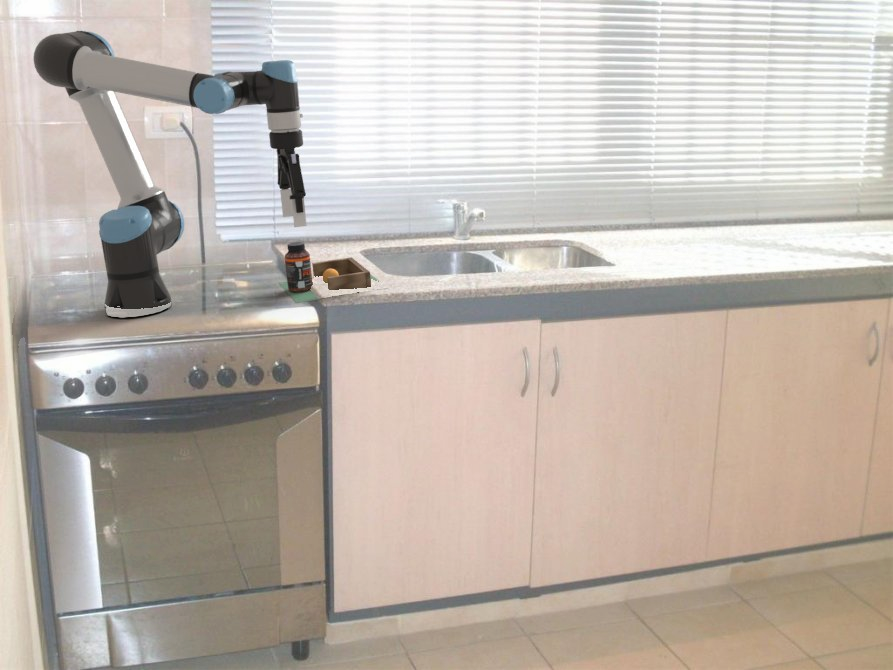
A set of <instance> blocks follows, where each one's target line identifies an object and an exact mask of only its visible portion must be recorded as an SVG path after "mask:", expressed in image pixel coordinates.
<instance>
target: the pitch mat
mask: <svg viewBox="0 0 893 670" xmlns="http://www.w3.org/2000/svg"><path fill="white" fill-rule="evenodd" d="M370 278H371V279H373V280H375V281H377V280H378V282H379V281H380V280H379V279H377V278H376V277H375V276H373V274H371V273H370ZM279 285H280V286H281V287H282V288H283V289H284V291H285V292H286V293H287V294H288V295H289V296H290V298H291V299H292V301H294V302H295V303H296V304H297V303H298V304H299V303H303V302H310V301H311V302H312V301H318V300H319V299H318V298H317V297H316V296H315V295H314V293H313V292H312V291H311V290H309V291H305V292H291V291H289V289H288V283H287V281H283V282H279Z"/></svg>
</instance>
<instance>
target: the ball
mask: <svg viewBox="0 0 893 670" xmlns="http://www.w3.org/2000/svg"><path fill="white" fill-rule="evenodd" d="M332 276H339V274H338V272H337V271H336V270H335V269H327V270H326V271H324V273H323V281H324V282H325V283H328V280H327V277H332Z"/></svg>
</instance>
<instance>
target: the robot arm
mask: <svg viewBox="0 0 893 670" xmlns="http://www.w3.org/2000/svg"><path fill="white" fill-rule="evenodd" d="M33 65H34V68H35V70H36V73H38V75H39V77H40V78H41V79H42V80H43V81H45V82H46V83H47V84H49V85H51V86H54V87H58V88H64V89H65V92H66V93H67V95H68V98H69V99H71V100H72V101H75V102H77V103H78V104H79V106H80V108H81V112H82V113H83V115H84V117H85V121H87V125H88V127H89V129H90V131H91V133H92V136H93V138H94V141H95V142H96V145H97V147H98V149H99V151H100V154H101V156H102V159H103V161H104V163H105V165H106V168H107V170H108V173H109V174H110V177H111V180H112V181H113V184H114V186H115V188H116V190H117V193H118V195H119V198H120V200H119V203H118V205H117V209H116V208H115V209H111V210H109V211H107V212H105V213H104V214H103V215H102V216H100V218H99V220H98V226H99V231H98V232H99V233H98V234H99V237H100V243H101V248H102V253H103V259H104V265H105V269H106V276H107V287H106V293H105V298H104V299H105V300H104V304H106V305H107V306H109V307H114V308H121V309H141V308H143V309H144V308H153V307H158V306H162V305H166V304H168V303H170V302H172V297H171V295H170V292H169V290H168V288H167V286H166V284H165V283H164V280H163V279H162V277H161V274H160V269H159V262H158V256H157V255H159V254H161V253H162V252H163V251H166V250H169V249H171V248H172V247H173V246H175V244H177V242H178V241H180V239H181V238H182V236H183V234H184V231H185V218H184V214H183V212H182V211H181V209H180V207H179V206H178V205H177V204H176V203H174V202H172V201H171V200H169V199H168V197H167V194H166V192H165V190H164V189H163V188H161V187H158V186H157V185H155V183H154V180H153V178H152V175H151V173H150V171H149V168H148V165H147V164H146V161H145V159H144V157H143V155H142V152H141V150H140V147H139V145H138V142H137V140H136V138H135V135H134V133H133V131H132V128H131V126H130V124H129V121H128V119H127V117H126V115H125V112H124V111H123V107H122V106H121V103H120V101H119V99H118V96H117V94H116V93H119V94H125V95H129V96H135V97H139V98H145V99H150V100H155V101H160V102H167V103H171V104H177V105H182V106H185V107H186V106H187V107H193V108H196V109H199V110H200V111H201V112H203V113H205V114H209V115H214V114H215V115H219V114H222V113H223V114H224V113H225V112H226V111H230V110H232V109H236V108H239V107H242V106H254V105H255V106H257V105H261V106H262V105H265V107H266V109H265V110H266V117H267V128H268V130H269V131H270V132H269V133H268V135H269V145H270V148H272V149H273V150H276V154H277V185H278V187H279V189H280V201H281V209H282V217H283V218H289V217H293V226H294V228H300V227H301V228H302V227H307V226H308V225H307V218H306V217H307V216H306V206H305V197H306V190H305V184H304V179H303V173H302V168H301V164H300V162H301V161H300V155H299V153H296V150H295V149H297V148H300V147H303V145H304V139H303V138H304V137H303V131H302V129H300V128H301V127H302V120H301V119H302V118H303V117H304V116H303V113H301V110H300V100H299V99H300V98H299V97H300V96H299V85H298V82H299V81H298V80H299V79H298V77H297V69H296V64H295V63H294V62H293V61H292V60H287V59H284V60H282V59H281V60H280V59H279V60H269V61H264V62H263V63H262V64H261V69H260V70H256V71H253V70H252V71H225V72H217V73H215V74H214V75H212V74H207V73H201V72H197V71H191V70H187V69H181V68H176V67H170V66H165V65H160V64H154V63H149V62H145V61H141V60H134V59H130V58H124V57H119V56H115V53H114V49H113V48H112V46H111V44H110V43H109V42H108V41H107V40H106V39H105V38H104V37H103V36H101V35H100V34H98V33H95V32H94V31H93V32H92V31H86V30H76V31H72V32H71V31H70V32H63V33H54V34H50V35H47V36H44V38H42V39H41V40H40V41H39V42H38V43H37V45H36V47H35V49H34V53H33ZM117 306H120V307H117Z"/></svg>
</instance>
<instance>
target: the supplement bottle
mask: <svg viewBox="0 0 893 670" xmlns="http://www.w3.org/2000/svg"><path fill="white" fill-rule="evenodd" d="M286 247H287V250H288V251H287V252H286V253H285V255H284V262H285V273H286V280H287V281H286V282H287V283H288V289H289V291H291V292H305V291H309V290H310V289H311V286H312V285H313V282H312V278H313V273H312V264H311V255H310V252H309V251H307V250H306V249H305V248H306V246H305V243H304V241H294V242H290V243H287V246H286Z"/></svg>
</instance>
